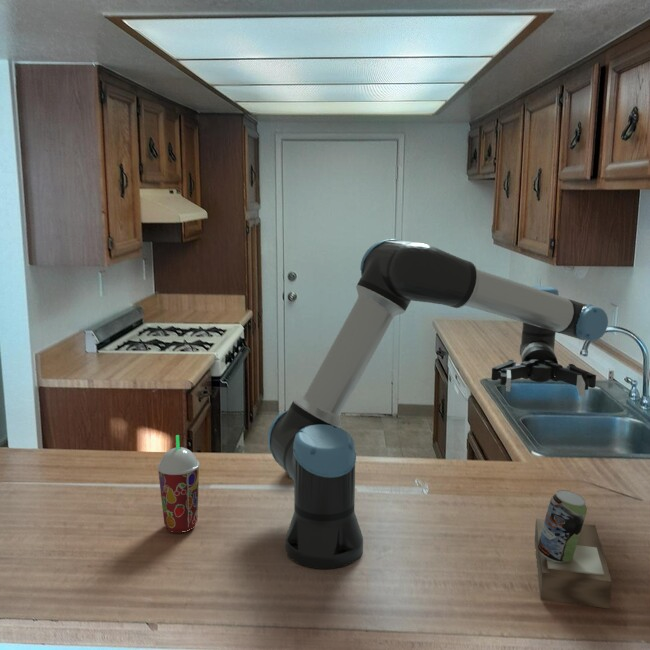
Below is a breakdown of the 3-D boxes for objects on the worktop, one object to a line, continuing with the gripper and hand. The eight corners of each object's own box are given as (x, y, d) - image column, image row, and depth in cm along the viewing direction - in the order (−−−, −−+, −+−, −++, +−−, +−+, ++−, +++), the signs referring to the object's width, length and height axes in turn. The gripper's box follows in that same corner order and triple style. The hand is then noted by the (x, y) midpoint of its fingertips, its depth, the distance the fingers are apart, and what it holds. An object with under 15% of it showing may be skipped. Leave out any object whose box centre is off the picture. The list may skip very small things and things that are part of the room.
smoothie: (209, 526, 140) (206, 435, 136) (176, 541, 134) (171, 446, 130) (185, 513, 145) (182, 425, 142) (152, 527, 139) (148, 435, 136)
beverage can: (534, 546, 121) (540, 484, 119) (577, 550, 120) (583, 488, 118) (539, 565, 115) (545, 500, 113) (584, 569, 114) (591, 504, 112)
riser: (540, 599, 115) (542, 570, 114) (534, 541, 134) (536, 517, 133) (609, 608, 112) (612, 579, 111) (593, 548, 131) (595, 523, 130)
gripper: (597, 382, 147) (612, 411, 127) (481, 374, 153) (477, 400, 133) (600, 349, 146) (616, 373, 126) (482, 342, 152) (479, 364, 132)
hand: (545, 387), depth 129 cm, fingers open, 13 cm apart
